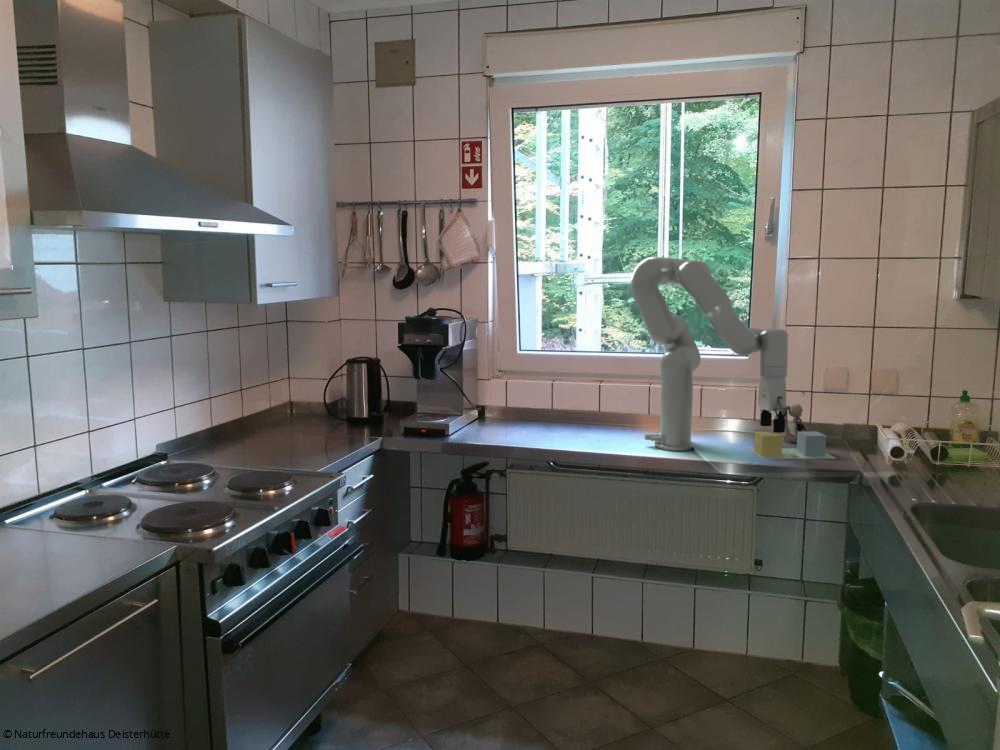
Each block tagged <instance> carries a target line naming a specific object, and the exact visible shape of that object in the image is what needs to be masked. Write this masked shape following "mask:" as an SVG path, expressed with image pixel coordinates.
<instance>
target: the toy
mask: <svg viewBox="0 0 1000 750" xmlns="http://www.w3.org/2000/svg"><path fill="white" fill-rule="evenodd" d="M787 404H790V403H789V401H788V402H787ZM803 411H804V410H803V408H802V406H801V405H800V404H799V403H796V404H791V405H787V410H786V415H785V416H786V419H785V432H783V433H779V434H780V435H782V436H783V442H784V441H785V442H786V443H787V444H793V443H797V439H796V438H795V437H794V435H793V434H792V433H791V430H790V427H789V423H788V415H790V416H791V417H792V418H793V419H792V422H793V423H794V430H795V435H796V436H797V434H798V432H806V431H808V429H807V428H806V427H805V425H804V423H803V421H802V419H801V418H800V417H803V416H802V415H803Z"/></svg>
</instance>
